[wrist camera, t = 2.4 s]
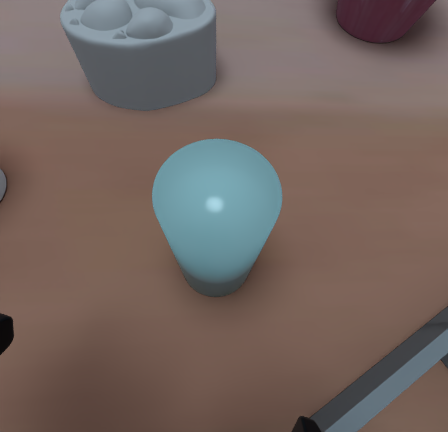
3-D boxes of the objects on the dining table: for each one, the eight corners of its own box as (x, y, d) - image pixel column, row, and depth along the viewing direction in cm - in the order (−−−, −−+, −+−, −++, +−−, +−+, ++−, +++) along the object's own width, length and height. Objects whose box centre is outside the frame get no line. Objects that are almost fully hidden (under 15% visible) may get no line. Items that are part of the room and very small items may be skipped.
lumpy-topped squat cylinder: (224, 91, 31) (227, 5, 23) (103, 125, 29) (61, 42, 21) (191, 31, 35) (184, -61, 27) (82, 56, 32) (39, -36, 24)
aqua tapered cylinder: (256, 291, 23) (296, 243, 12) (185, 302, 22) (156, 263, 11) (243, 225, 25) (266, 133, 14) (178, 234, 24) (148, 145, 13)
